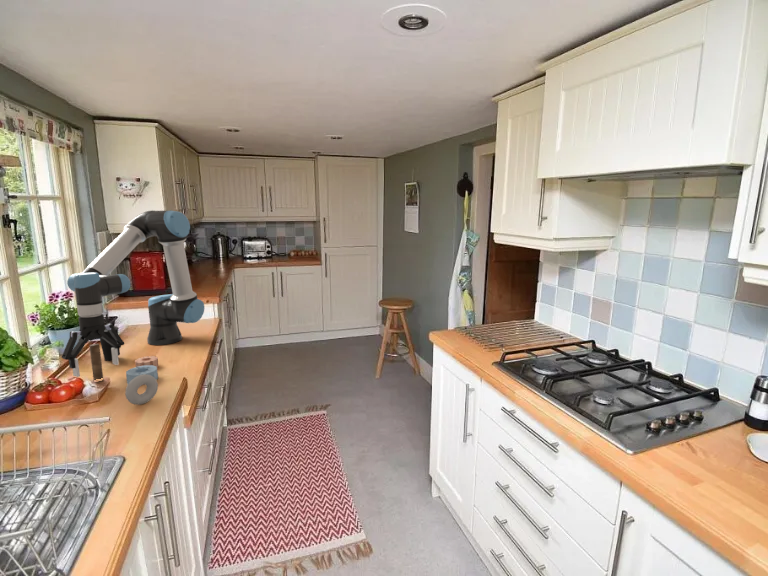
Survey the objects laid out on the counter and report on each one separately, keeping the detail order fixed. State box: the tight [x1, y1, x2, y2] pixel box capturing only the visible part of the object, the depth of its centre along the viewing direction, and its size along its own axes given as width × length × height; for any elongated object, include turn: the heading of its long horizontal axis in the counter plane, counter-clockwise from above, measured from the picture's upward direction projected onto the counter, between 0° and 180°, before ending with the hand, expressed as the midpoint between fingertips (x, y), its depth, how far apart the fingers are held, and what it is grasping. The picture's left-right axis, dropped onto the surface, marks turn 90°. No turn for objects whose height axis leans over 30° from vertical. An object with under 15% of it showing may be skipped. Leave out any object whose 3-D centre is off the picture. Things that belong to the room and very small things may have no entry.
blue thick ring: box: [125, 365, 159, 385], centre depth 151 cm, size 10×10×4 cm
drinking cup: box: [99, 313, 120, 362], centre depth 171 cm, size 8×8×20 cm
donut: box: [124, 374, 159, 406], centre depth 132 cm, size 10×4×10 cm, turn 148°
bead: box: [134, 355, 159, 368], centre depth 164 cm, size 8×8×4 cm
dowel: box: [89, 343, 104, 381], centre depth 149 cm, size 3×3×14 cm
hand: (97, 370), depth 149 cm, fingers open, 13 cm apart
